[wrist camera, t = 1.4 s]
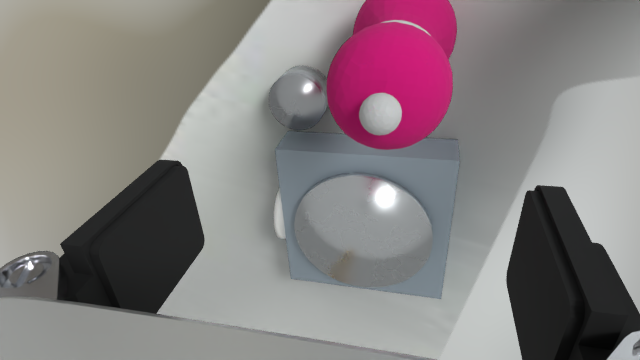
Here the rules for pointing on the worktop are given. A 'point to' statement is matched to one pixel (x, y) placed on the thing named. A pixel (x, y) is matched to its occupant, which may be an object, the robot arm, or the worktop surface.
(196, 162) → the worktop surface
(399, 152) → the scale
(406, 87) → the pepper mill
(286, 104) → the silver metal dome
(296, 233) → the pan
